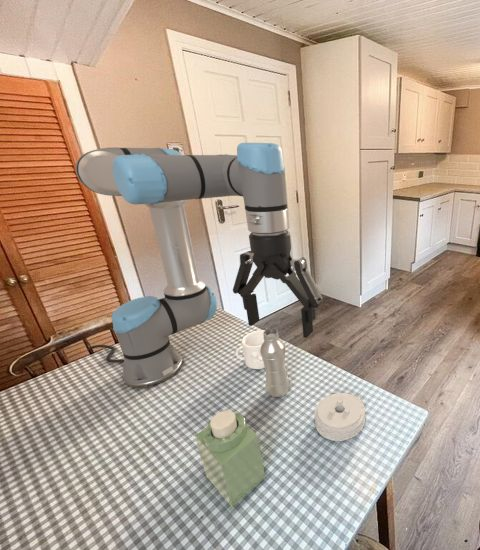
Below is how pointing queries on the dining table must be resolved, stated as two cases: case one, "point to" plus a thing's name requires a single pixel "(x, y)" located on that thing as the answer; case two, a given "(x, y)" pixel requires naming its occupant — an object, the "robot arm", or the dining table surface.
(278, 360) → the plastic bottle
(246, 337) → the mug
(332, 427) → the lid
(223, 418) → the beige short cylinder
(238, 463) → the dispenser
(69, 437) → the dining table surface
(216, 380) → the dining table surface
